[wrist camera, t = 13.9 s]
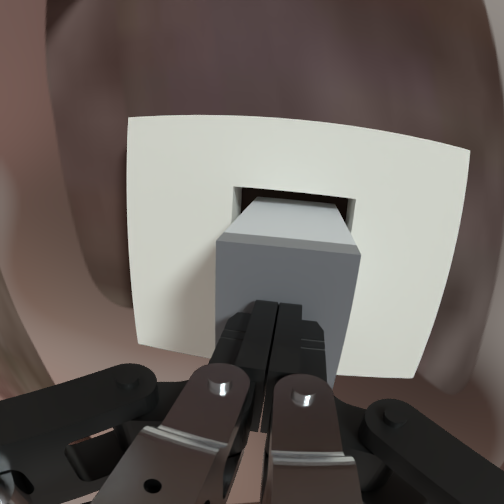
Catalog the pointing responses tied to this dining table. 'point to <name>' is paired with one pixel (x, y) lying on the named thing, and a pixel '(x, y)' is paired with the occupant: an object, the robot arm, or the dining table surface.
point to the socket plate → (295, 180)
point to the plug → (289, 266)
